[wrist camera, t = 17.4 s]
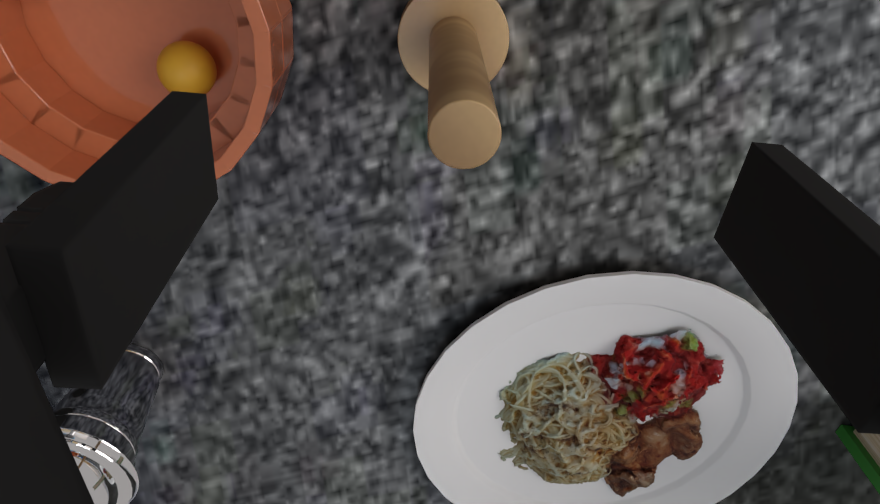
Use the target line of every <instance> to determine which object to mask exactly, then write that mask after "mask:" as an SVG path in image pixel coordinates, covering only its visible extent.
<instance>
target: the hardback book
mask: <svg viewBox="0 0 880 504" xmlns="http://www.w3.org/2000/svg"><path fill="white" fill-rule="evenodd" d="M836 434H837V435H838V437H839V438H840V439H841V441H842V442H843V444H844V445H845V446H846V448H847V449H848V451H849V452H850V454H851V455H852V456H853V458H854V459H855V461H856V462H857V463H858V465H859V466H860V468H861V469H862V470H863V472H864V473H865V475H866V476H867V477H868V479H869V480H870V482H871V483H872V484H873V486H874V487H875V489H876V490H877V492H878V493H879V494H880V434H870V433H858V432H857V430H856V429H855V428H854V426H847V425H841V426H840V427H839V428H838V429H837V430H836Z"/></svg>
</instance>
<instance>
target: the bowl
mask: <svg viewBox="0 0 880 504" xmlns="http://www.w3.org/2000/svg"><path fill="white" fill-rule="evenodd" d="M291 8H292V6H291V3H290V0H0V154H1V155H2V156H4V157H6V158H7V159H9V160H11V161H12V162H14V163H16V164H17V165H19V166H21V167H22V168H24V169H25V170H27V171H29V172H30V173H32V174H34V175H35V176H37V177H39V178H40V179H42V180H44V181H46V182H48V183H51V184H55V183H57V182H60V181H62V182H75V181H76V180H77V179H78V178H79V177H80V176H81V175H82V174H83V173H84V172H85V171H86V170H88V169H89V168H90V167H91V166H92V165H93V164H94V163H95V162H96V161H97V160H98V159H99V158H101V157H102V156H103V155H104V154H105V153H106V152H107V151H108V150H109V149H110V148H111V147H112V146H113V145H115V144H116V143H117V142H118V141H119V140H120V139H121V138H122V137H123V136H124V135H125V134H126V133H127V132H129V131H130V130H131V129H132V128H133V127H134V126H135V125H136V124H137V123H138V122H139V121H140V120H141V119H143V118H144V117H145V116H146V115H147V114H148V113H149V112H150V111H151V110H152V109H153V108H154V107H156V106H157V105H158V104H159V103H160V102H161V101H162V100H163V99H164V98H165V97H166V96H167V95H168V94H170V93H171V92H169V91H168V90H167V89H166V88H165V87H164V86H163V84H162V83H161V81H160V80H159V77H158V74H157V68H156V65H157V59H158V56H159V54H160V52H161V51H162V50H163V49H164V48H165V47H166V46H167V45H169V44H171V43H173V42H176V41H191V42H194V43H197V44H199V45H201V46H202V47H204V48H205V49H206V50H207V51H208V52H209V53H210V55H211V56H212V58H213V59H214V62H215V64H216V69H217V77H216V81H215V84H214V86H213V87H212V89H211V90H210V91H209V92H208V93H206V96H207V105H208V114H209V123H210V131H211V140H212V149H213V158H214V167H215V176H216V179H218V178H219V177H221V176H223V175H224V174H226V173H228V172H229V171H231V169H233V167H234V166H235V165H236V164H237V162H238V161H239V160H240V158H241V157H242V156H243V154H244V153H245V152H246V151H247V149H248V148H249V147H250V145H251V144H252V143H253V141H254V140H255V139H256V138H257V136H258V135H259V133H260V132H261V130H262V129H263V127H264V125H265V124H266V122H267V121H268V119H269V118H270V116H271V115H272V113H273V111H274V110H275V108H276V107H277V105H278V104H279V102H280V100H281V98H282V94H283V91H284V88H285V85H286V81H287V78H288V75H289V71H290V68H291V65H292V62H293V57H294V55H293V22H292V9H291Z"/></svg>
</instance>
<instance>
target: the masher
mask: <svg viewBox="0 0 880 504" xmlns="http://www.w3.org/2000/svg"><path fill="white" fill-rule="evenodd" d="M508 47H509V29H508V23H507V20H506V17H505V15H504V13H503V10H502V8H501V6H500V4H499V3H498V1H497V0H409V1H408V3H407V5H406V6H405V8H404V11H403V13H402V16H401V20H400V24H399V29H398V49H399V54H400V58H401V60H402V63H403V65H404V67H405V69H406V70H407V72H408V73H409V75H410V76H411V77H412V78H413V79H414V80H415V81H416V82H417V83H418V84H419V85H421V86H422V87H424V88H425V89H427V90H428V142H429V146H430V148H431V150H432V152H433V154H434V155H435V156H436V157H437V158H438V159H439V160H440V161H441V162H442V163H444V164H446V165H447V166H450V167H453V168H457V169H471V168H475V167H478V166H480V165H482V164H484V163H485V162H487V161H488V160H489V159H490V158H491V157H492V156H493V155H494V154H495V152H496V151H497V149H498V147H499V145H500V141H501V134H502V132H501V125H500V121H499V117H498V113H497V109H496V106H495V102H494V98H493V94H492V90H491V87H490V83H489V82H490V81H491V80H492V79H493V78H494V77H495V76H496V74H497V73H498V72H499V70H500V69H501V67H502V65H503V63H504V61H505V58H506V55H507V52H508Z"/></svg>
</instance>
